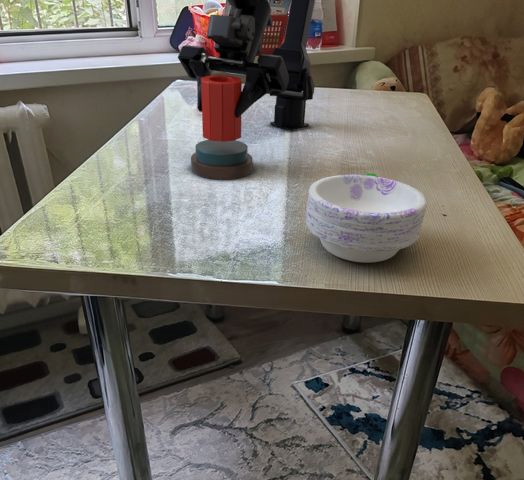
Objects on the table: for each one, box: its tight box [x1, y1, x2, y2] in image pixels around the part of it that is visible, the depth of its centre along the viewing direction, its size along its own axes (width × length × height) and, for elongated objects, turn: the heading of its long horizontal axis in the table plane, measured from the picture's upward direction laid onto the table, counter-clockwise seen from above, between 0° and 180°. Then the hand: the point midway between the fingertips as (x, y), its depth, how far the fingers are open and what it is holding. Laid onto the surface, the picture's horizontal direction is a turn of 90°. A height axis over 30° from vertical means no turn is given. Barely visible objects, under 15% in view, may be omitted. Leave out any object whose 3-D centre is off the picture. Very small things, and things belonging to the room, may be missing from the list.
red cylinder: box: [201, 74, 243, 142], centre depth 92 cm, size 7×7×9 cm
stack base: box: [190, 139, 254, 181], centre depth 97 cm, size 11×11×4 cm
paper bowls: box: [305, 174, 428, 264], centre depth 73 cm, size 15×15×8 cm
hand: (217, 113), depth 92 cm, fingers closed on red cylinder, 7 cm apart
